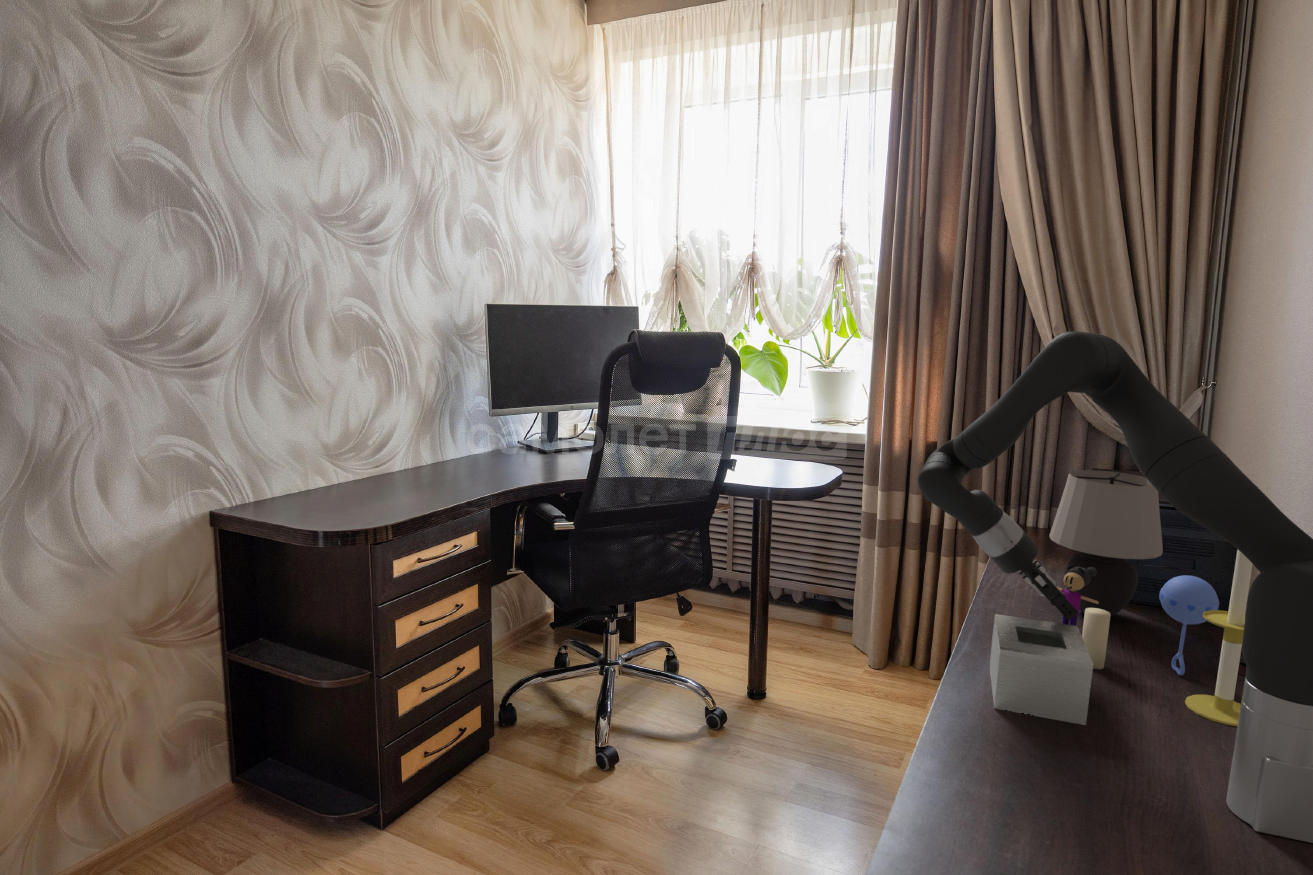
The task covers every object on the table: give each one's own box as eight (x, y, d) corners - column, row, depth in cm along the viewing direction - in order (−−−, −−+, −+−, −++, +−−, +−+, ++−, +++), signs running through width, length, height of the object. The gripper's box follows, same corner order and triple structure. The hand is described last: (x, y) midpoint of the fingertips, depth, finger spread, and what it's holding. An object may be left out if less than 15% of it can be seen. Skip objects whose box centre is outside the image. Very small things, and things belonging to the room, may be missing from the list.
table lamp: (1171, 638, 153) (1192, 490, 149) (1059, 628, 157) (1076, 483, 152) (1128, 601, 174) (1145, 470, 169) (1029, 593, 177) (1043, 464, 172)
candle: (1205, 723, 121) (1235, 521, 116) (1172, 693, 131) (1198, 505, 126) (1276, 730, 120) (1308, 525, 114) (1237, 698, 129) (1266, 509, 124)
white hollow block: (1085, 725, 119) (1093, 664, 118) (994, 708, 124) (1000, 649, 122) (1070, 680, 134) (1077, 625, 133) (989, 667, 139) (994, 613, 137)
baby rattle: (1217, 687, 133) (1232, 587, 130) (1161, 681, 135) (1175, 582, 132) (1194, 665, 142) (1207, 571, 139) (1141, 660, 143) (1154, 566, 140)
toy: (1037, 631, 155) (1045, 559, 153) (1055, 627, 158) (1063, 556, 155) (1086, 652, 146) (1095, 575, 144) (1105, 647, 149) (1114, 572, 146)
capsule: (1106, 670, 139) (1112, 617, 137) (1080, 666, 140) (1087, 613, 138) (1101, 661, 142) (1108, 609, 141) (1077, 657, 144) (1083, 606, 142)
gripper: (1032, 539, 133) (1097, 609, 133) (1010, 518, 147) (1069, 581, 146) (996, 566, 134) (1060, 635, 134) (978, 543, 148) (1036, 605, 148)
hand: (1065, 607), depth 140 cm, fingers open, 8 cm apart
